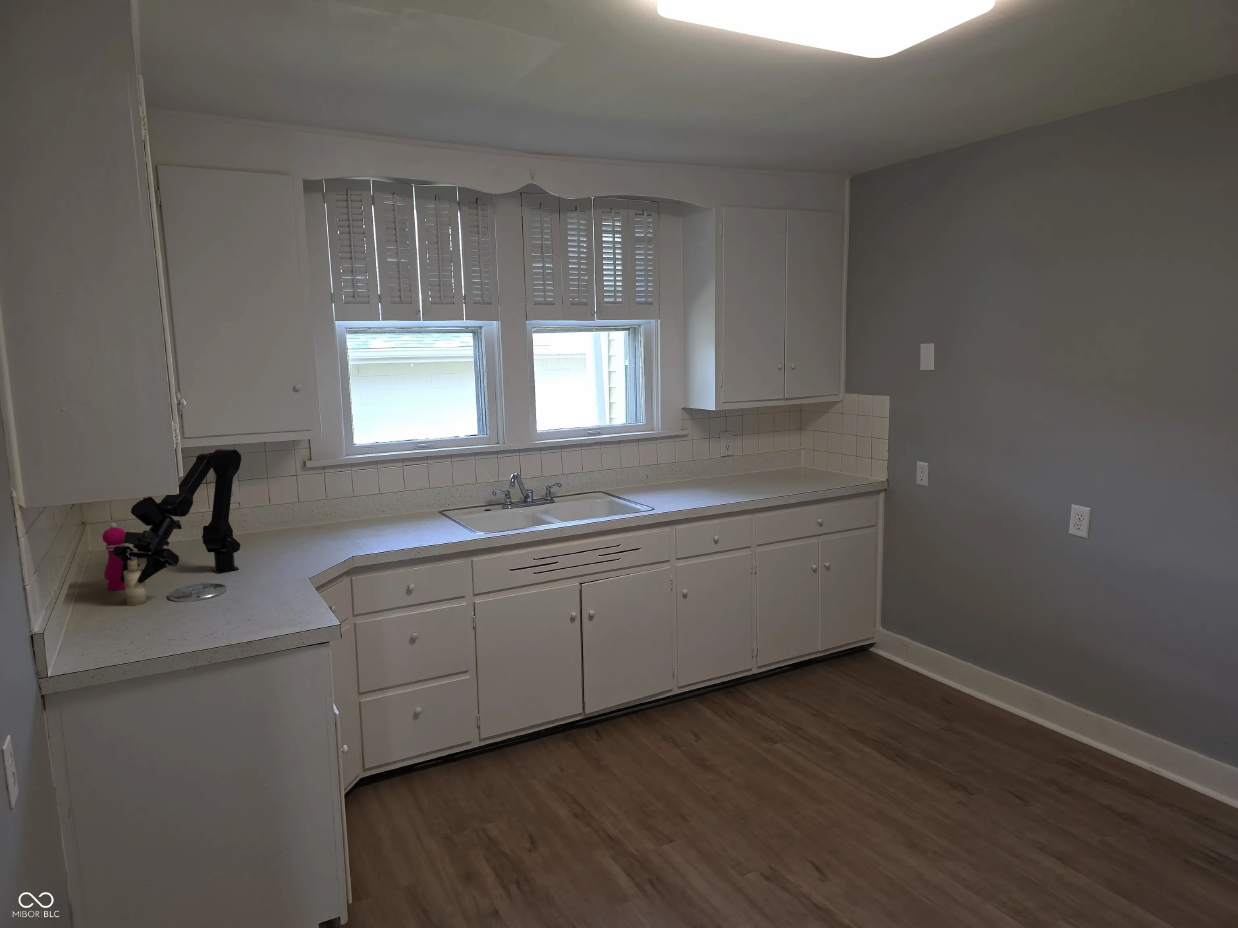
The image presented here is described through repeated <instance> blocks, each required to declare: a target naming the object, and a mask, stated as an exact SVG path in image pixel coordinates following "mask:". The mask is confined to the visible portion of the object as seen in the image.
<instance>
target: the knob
mask: <svg viewBox="0 0 1238 928" xmlns="http://www.w3.org/2000/svg"><path fill="white" fill-rule="evenodd" d="M127 563H128V570H126V571H124V572H123V573H124V582H125V589H124V590H125V596H126V597H125V599H126V606H128V607H135V606H136V605H137V606H141V605H145V604H147V603H148V599H147V590H146V589H147V588H146V583H145V581H146V580H145V581H144V582H142V583H138V579H139V577H140V575H141V573H142V571H143V569H144V568H141V567H140V568H139V567H138V564H139V563H138V560H137V559H130V560H128V561H127ZM144 603H145V604H144Z"/></svg>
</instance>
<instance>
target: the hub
mask: <svg viewBox="0 0 1238 928" xmlns="http://www.w3.org/2000/svg"><path fill="white" fill-rule="evenodd" d="M224 592H225V593H226V592H227V586H226V584H222V583H214V582H213V583H212V582H199V583H198V582H197V583H191V584H188V585H185V586H182V587H179V588H177V589H174V590H172V591H171V592H169V593H168V595H167V596H168V600H170V601H171V600H172V602H176V601H178V602H179V603H185V602H186V603H188V602H187V601H192V602H198V601H199V600H200V601H204V600H209V599H214V598H216V597H219V596H221V595H223V594H225V593H224Z"/></svg>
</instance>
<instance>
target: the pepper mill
mask: <svg viewBox="0 0 1238 928" xmlns="http://www.w3.org/2000/svg"><path fill="white" fill-rule="evenodd" d="M125 533H126V531H125V530H124V529H122V528H121V527H118V526H117V523H115V522H111V523H110V524H109V528H108V529H107V528H106V530H104V531H103V533H102V538H101V539H102V541H103V542H104V543H105V545H104V546H105V550H106V551H107V555H108V559H107V564H106V566H105V569H104V572H103V576H104V577H103V578H104V579H105V580H106V581H108V582H107V584H106V587H107V590H108V591H122V590H125V582H122V581H121V580H120V579H121V573H122V567H123V561H122V560H120V559H119V558H118V557H116V556H115V555H114V554H112V551H113V549H114V548H115V547H116V546H126V543H123V540H124V537H125Z"/></svg>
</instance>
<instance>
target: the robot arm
mask: <svg viewBox="0 0 1238 928" xmlns="http://www.w3.org/2000/svg"><path fill="white" fill-rule="evenodd" d="M241 463H242V454H241V453H240V452H239V450H237V449H228V448H227V449H224V448H223V449H222V448H220V449H219V448H218V449H215V451H213V452H207V453H200V454H198V455H197V456H196V458H195V461H194V462H193V464H192V465H191V467H190V469H189V470H188V472H186V474H185V476H184V477H183V479H182V480H181V482H180V483H179V485H178V486H179V494H177V495H167V494H166V495H165V496H164V497H163V498H162V499H161V501H160V502H157V501H156V500H155V499H154V497H152V496H147V497H148V498H145V497H144V498H143V499H141V500H139V501H137V502H136V503H135V504H133V505H132V507H131V509H130V513H131V515H133V517H134V518H136V519H137V520H139V521H140V522H141V523H142V524H144V525H145V526H146V527H149V529H148V530H143V531H142V532H134V531H125V537H124V540H123V543H125V544H130V545H132V547H133V548H134V549H135V550H134V549H133V548H132V547H130V546H129V545H125V546H116V547H115V548H114V549H113V551H112V554H114V555H115V556H116V557H118V558H119V559H120V560H122V561H123V567H122V573H121V579H120V580H121V581H122V582H124V573H123V572H124V571H126V570H128V563H127V561H128V560H130V559H137V561H139V559H146V560H145V561H146V563H145V566H144V567H143V568H142V569H143V571H142V573H141V575H140V577H139V579H138V583H142V582H144V581H147V580H148V579H150V578H152V576H154V575H155V574H156V575H157V573H159V572H160V571H162V570H164V569H167V568H168V567H177V566H178V564H179V562H180V556H179V555H178V554H177V553H176V552H174V551H173V550H171V549H170V548H167V547H169V545H170V543H171V542H169V539H170V537H171V535H172V534H173V532H174V530H182V529H183V528H182V527H183V526H182V524H181V520H179V519H178V520H177V519H175V518H173V517H176V518H182V517H186V516H187V515H188V514H189V513H190V511H191V509H192V507H193V505H194V496H195V494H196V493H197V490H198V489H199V488H200V486H201V485H202V483H203V482H204V480H205V479H206V478H207V476H208V474H209V473H210V471H211V470H212V471H213V473H214V474H215V483H214V492H213V493H214V494H213V501H212V512H211V520H210V522H209V523H208V525H203V527H202V535H201V539H202V544H203V545H204V546H205V550H206V551H207V553H213V556H214V567H212V568H211V571H212V572H215V573H217V574H222V573H229V572H232V571H237V570H239V567H238V566H236V564H235V553H237V552H239V551H240V550H241V543H240V542H239V541H238V540H237V539H235V538H234V530H233V528H232V525H231V523H230V522H229V521H230V511H231V503H232V502H231V501H232V492H233V484H234V483H233V482H234V478H235V476H236V474H237V473H238V472H239V470H240V467H241ZM164 547H165V548H164ZM140 566H141V564H140V563H138V568H139V567H140Z"/></svg>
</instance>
